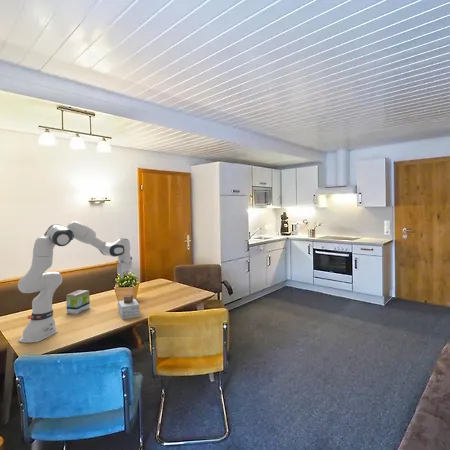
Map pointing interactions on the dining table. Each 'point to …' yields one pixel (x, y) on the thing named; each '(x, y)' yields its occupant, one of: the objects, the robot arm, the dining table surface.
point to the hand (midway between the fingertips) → (124, 276)
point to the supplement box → (128, 309)
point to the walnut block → (128, 299)
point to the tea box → (78, 301)
